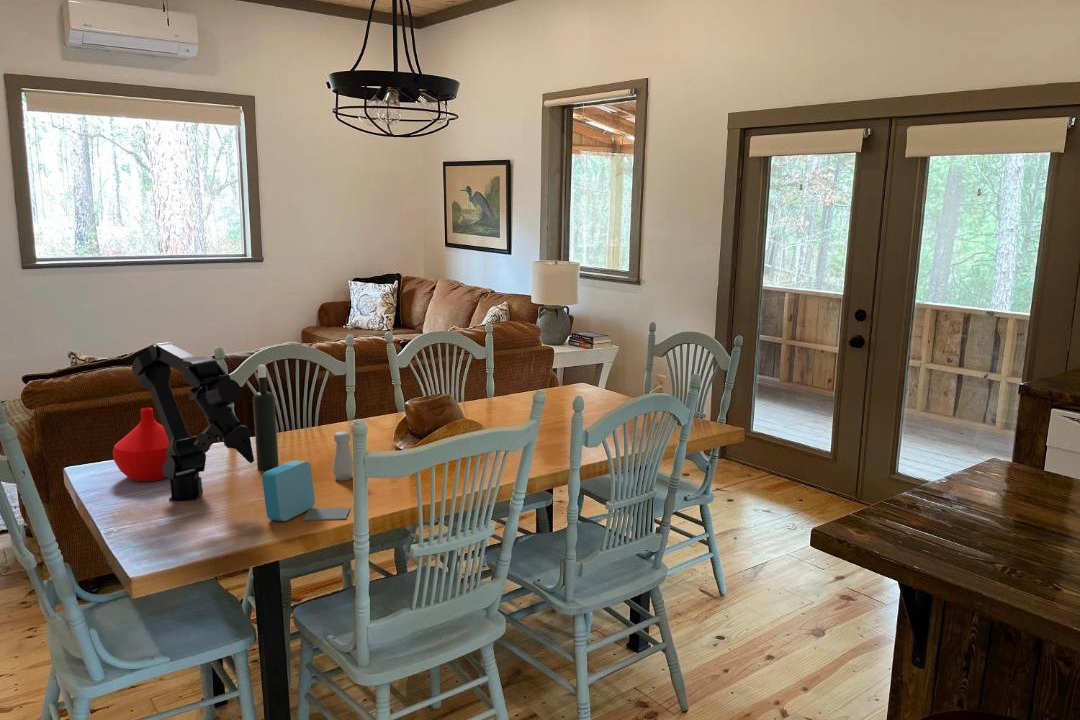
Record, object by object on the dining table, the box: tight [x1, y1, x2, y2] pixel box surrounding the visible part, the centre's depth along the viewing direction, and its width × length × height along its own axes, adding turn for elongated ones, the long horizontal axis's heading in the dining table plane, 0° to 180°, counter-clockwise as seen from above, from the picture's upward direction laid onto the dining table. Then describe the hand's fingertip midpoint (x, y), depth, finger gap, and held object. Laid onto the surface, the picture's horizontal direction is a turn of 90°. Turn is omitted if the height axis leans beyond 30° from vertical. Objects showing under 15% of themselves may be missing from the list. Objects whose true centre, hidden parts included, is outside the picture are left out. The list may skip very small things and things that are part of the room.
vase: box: [112, 407, 169, 482], centre depth 222 cm, size 18×18×19 cm
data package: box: [261, 459, 316, 522], centre depth 195 cm, size 12×4×12 cm, turn 155°
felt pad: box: [303, 507, 351, 521], centre depth 196 cm, size 10×7×1 cm
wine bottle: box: [252, 364, 280, 472], centre depth 228 cm, size 6×6×30 cm
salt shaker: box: [332, 430, 354, 481], centre depth 221 cm, size 6×6×13 cm
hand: (252, 462), depth 198 cm, fingers closed
